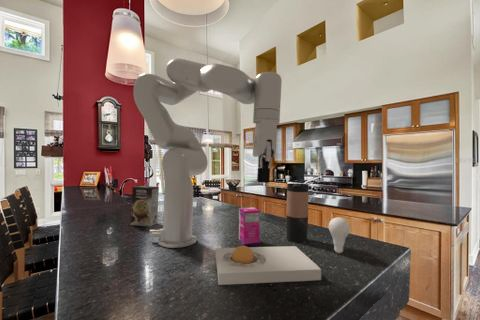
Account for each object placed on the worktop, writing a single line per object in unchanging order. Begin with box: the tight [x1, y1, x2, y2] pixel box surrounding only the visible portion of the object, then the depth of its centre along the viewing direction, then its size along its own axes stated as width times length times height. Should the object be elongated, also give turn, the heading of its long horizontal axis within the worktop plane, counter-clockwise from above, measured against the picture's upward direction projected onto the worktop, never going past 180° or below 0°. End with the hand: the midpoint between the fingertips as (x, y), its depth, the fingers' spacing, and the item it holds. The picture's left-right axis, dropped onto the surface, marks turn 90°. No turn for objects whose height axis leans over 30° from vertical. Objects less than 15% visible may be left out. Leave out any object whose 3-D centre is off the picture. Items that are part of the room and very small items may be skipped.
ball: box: [232, 245, 253, 264], centre depth 62 cm, size 6×6×6 cm
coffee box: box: [130, 185, 160, 227], centre depth 103 cm, size 9×6×16 cm
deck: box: [214, 245, 322, 286], centre depth 62 cm, size 24×16×2 cm, turn 99°
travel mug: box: [285, 182, 309, 244], centre depth 87 cm, size 8×8×20 cm
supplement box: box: [238, 206, 261, 246], centre depth 82 cm, size 6×6×12 cm
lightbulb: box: [328, 216, 351, 254], centre depth 74 cm, size 6×6×11 cm
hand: (263, 182), depth 68 cm, fingers closed
